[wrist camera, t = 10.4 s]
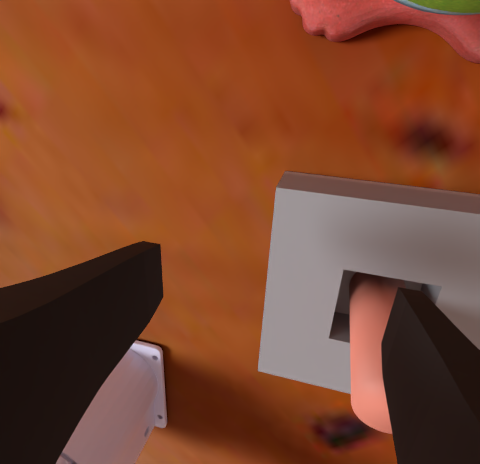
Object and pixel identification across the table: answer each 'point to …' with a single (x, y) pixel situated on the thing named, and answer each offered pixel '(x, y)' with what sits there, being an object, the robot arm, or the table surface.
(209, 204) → the table surface
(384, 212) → the socket block
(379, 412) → the peg
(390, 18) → the stacking bear
